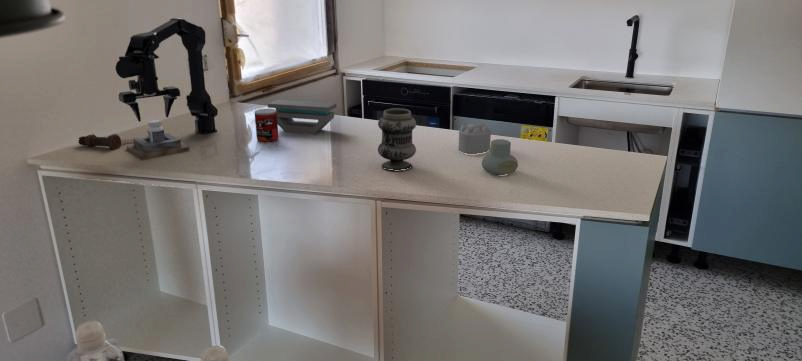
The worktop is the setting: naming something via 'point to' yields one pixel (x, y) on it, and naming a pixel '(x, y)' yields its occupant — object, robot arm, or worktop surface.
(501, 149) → the air freshener
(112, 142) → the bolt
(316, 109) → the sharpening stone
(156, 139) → the pill bottle
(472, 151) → the lumpy-topped squat cylinder
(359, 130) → the worktop surface
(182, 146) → the collar board
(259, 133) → the canned food
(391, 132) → the apothecary jar
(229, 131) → the worktop surface
